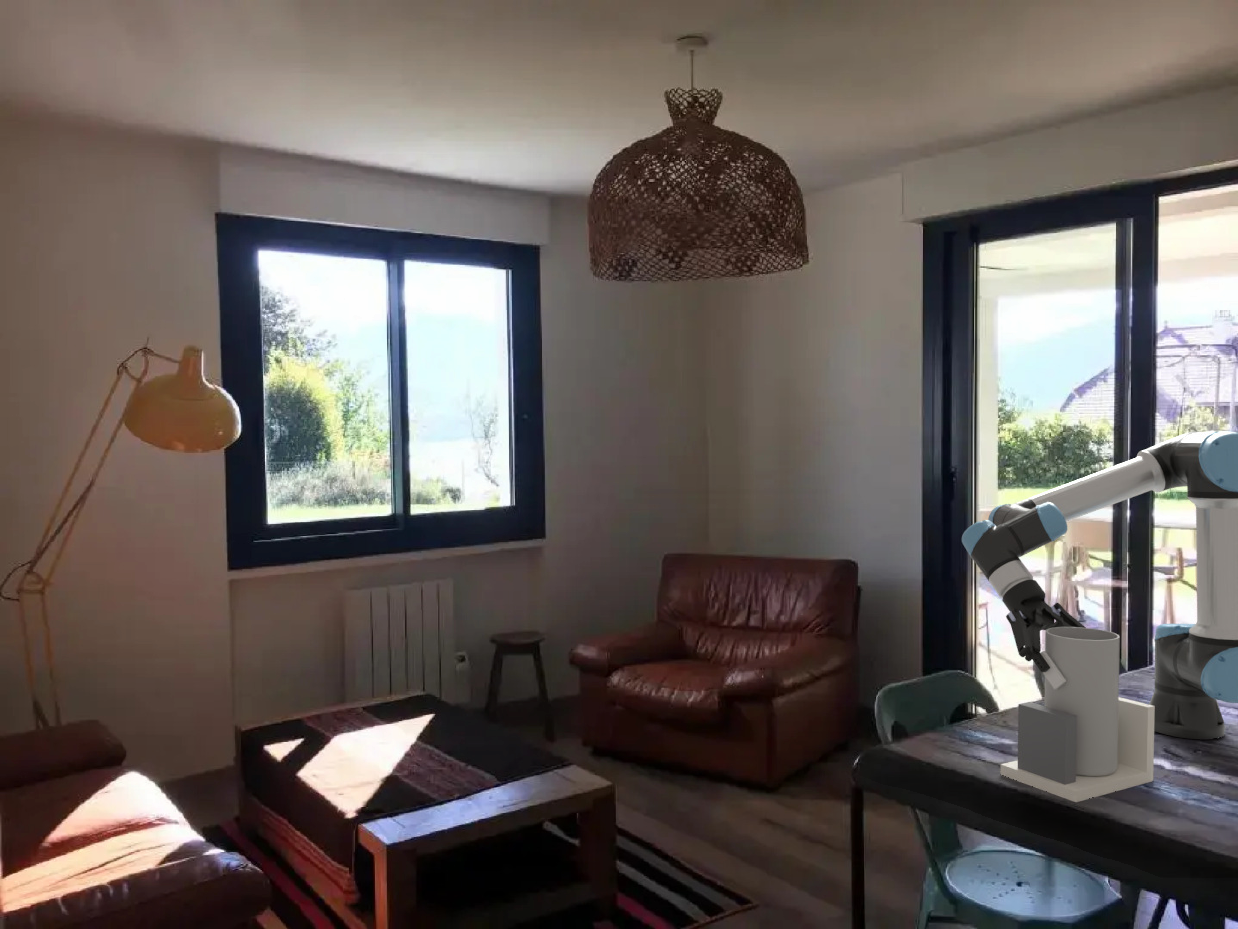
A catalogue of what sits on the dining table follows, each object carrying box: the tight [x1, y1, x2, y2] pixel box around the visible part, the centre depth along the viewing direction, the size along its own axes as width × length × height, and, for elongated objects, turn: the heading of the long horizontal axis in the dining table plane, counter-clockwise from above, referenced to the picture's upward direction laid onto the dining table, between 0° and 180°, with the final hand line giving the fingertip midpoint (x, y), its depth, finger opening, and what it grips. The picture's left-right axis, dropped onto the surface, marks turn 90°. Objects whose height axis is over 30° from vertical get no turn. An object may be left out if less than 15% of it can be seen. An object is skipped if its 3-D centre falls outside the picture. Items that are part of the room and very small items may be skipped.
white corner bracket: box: [1000, 696, 1155, 803], centre depth 186 cm, size 22×16×14 cm
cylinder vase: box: [1043, 627, 1121, 776], centre depth 186 cm, size 12×12×25 cm
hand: (1084, 681), depth 185 cm, fingers open, 13 cm apart
